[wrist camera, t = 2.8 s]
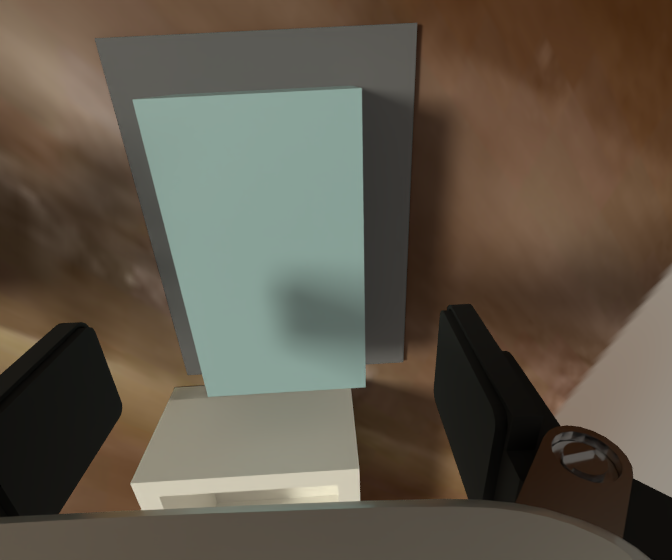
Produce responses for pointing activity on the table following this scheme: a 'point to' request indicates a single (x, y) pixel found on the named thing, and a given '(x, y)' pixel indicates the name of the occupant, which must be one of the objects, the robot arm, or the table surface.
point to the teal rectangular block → (265, 232)
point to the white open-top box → (250, 450)
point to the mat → (289, 73)
